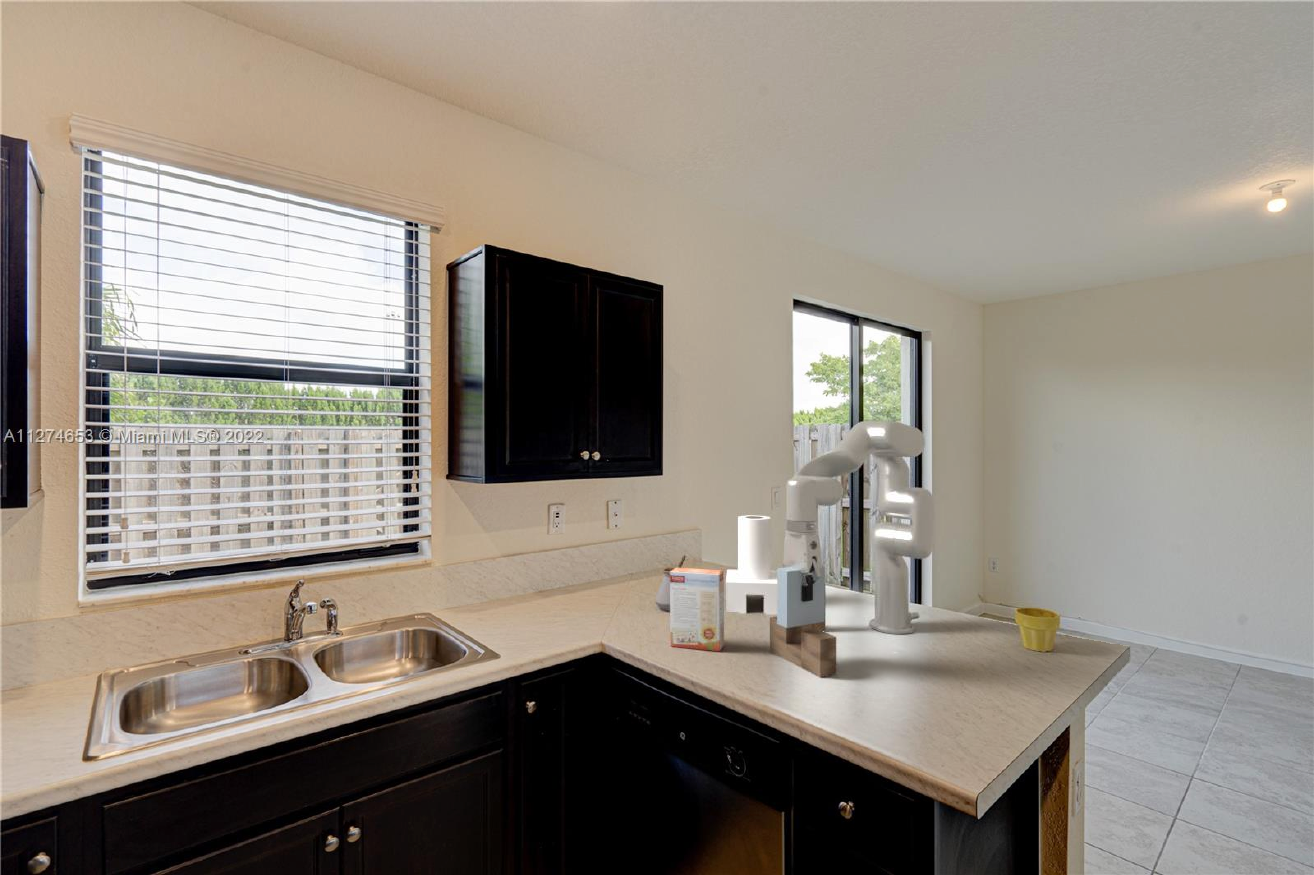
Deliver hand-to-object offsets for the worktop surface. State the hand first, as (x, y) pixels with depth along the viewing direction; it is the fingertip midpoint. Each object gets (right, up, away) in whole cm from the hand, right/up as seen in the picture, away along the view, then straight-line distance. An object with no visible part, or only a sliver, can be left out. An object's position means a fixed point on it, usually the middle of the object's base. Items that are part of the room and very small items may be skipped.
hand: (801, 597), depth 157 cm
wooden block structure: (+8, -16, +26) cm, 32 cm away
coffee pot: (-30, -16, +53) cm, 63 cm away
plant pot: (+66, -16, +10) cm, 69 cm away
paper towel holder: (-4, -16, +52) cm, 54 cm away
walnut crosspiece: (0, -16, 0) cm, 16 cm away
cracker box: (-26, -17, +12) cm, 33 cm away
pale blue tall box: (0, -6, 0) cm, 6 cm away
